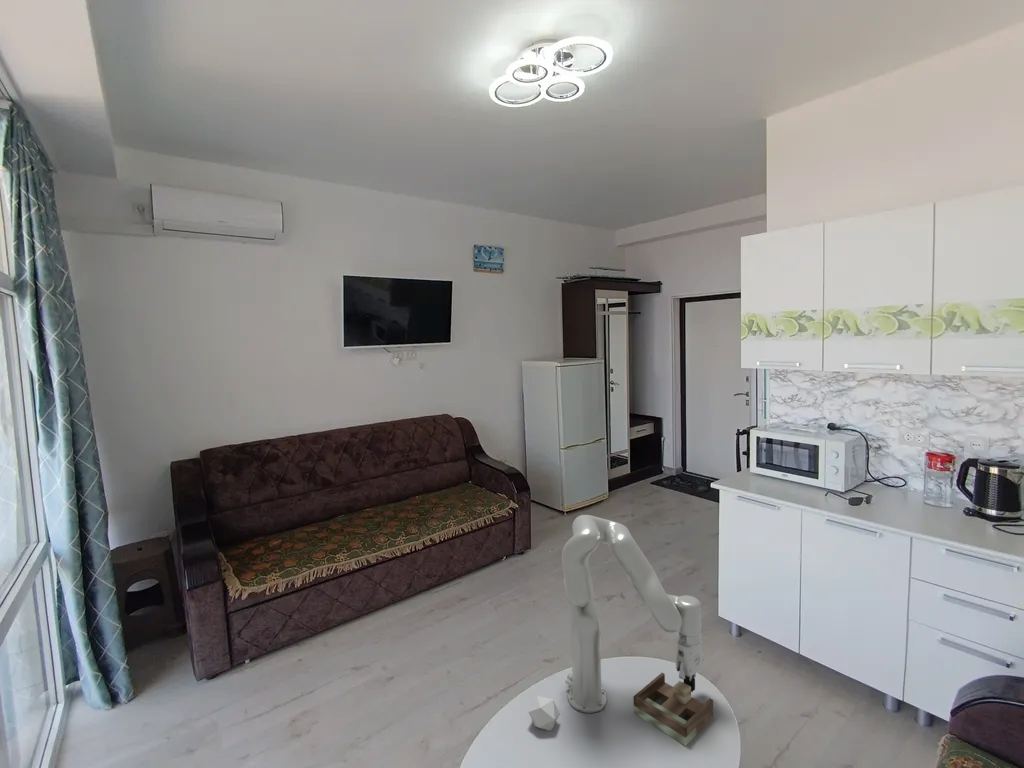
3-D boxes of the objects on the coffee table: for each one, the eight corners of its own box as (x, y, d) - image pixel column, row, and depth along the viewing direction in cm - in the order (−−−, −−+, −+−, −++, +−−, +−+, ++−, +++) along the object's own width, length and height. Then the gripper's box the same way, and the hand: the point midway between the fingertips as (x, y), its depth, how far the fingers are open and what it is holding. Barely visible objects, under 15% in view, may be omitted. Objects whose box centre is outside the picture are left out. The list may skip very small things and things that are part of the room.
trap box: (633, 712, 157) (633, 696, 156) (662, 687, 167) (662, 672, 167) (685, 745, 143) (685, 728, 143) (713, 716, 154) (713, 699, 153)
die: (563, 721, 155) (550, 687, 159) (563, 727, 147) (549, 691, 151) (539, 734, 154) (526, 699, 159) (537, 740, 146) (523, 704, 151)
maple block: (673, 698, 159) (673, 686, 158) (679, 692, 161) (679, 680, 161) (684, 704, 156) (684, 692, 155) (691, 698, 158) (691, 686, 158)
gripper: (687, 650, 152) (688, 706, 154) (710, 630, 162) (711, 683, 164) (665, 640, 158) (666, 694, 159) (689, 621, 168) (690, 672, 169)
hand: (689, 688), depth 162 cm, fingers closed
